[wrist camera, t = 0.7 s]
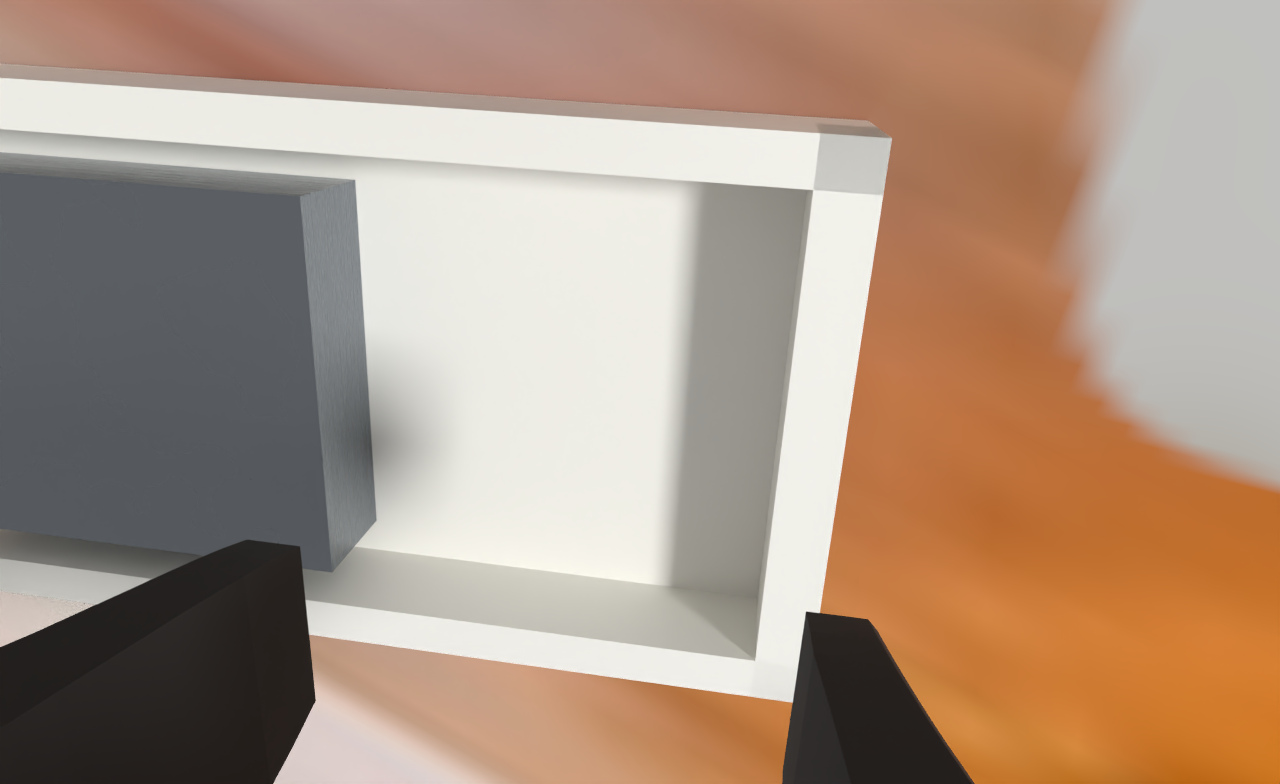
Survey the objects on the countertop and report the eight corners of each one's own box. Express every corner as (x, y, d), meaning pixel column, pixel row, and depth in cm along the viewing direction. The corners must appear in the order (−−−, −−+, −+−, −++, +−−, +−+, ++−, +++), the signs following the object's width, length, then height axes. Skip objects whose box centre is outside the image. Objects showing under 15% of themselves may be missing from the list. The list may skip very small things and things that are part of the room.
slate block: (376, 520, 18) (332, 572, 17) (28, 477, 19) (-51, 522, 18) (355, 179, 16) (300, 196, 14) (-45, 148, 17) (-146, 160, 15)
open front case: (801, 595, 19) (805, 704, 16) (89, 505, 21) (-34, 586, 18) (868, 120, 16) (892, 138, 13) (2, 63, 18) (-171, 66, 14)
